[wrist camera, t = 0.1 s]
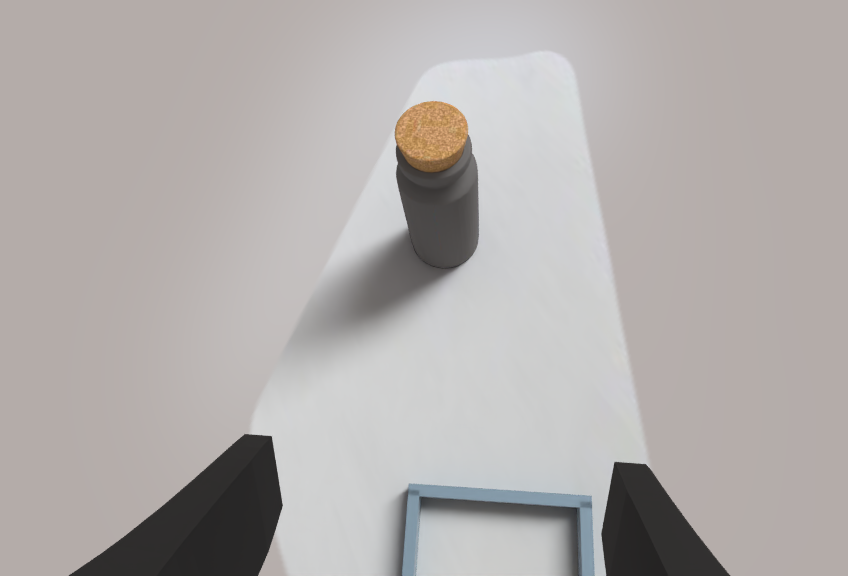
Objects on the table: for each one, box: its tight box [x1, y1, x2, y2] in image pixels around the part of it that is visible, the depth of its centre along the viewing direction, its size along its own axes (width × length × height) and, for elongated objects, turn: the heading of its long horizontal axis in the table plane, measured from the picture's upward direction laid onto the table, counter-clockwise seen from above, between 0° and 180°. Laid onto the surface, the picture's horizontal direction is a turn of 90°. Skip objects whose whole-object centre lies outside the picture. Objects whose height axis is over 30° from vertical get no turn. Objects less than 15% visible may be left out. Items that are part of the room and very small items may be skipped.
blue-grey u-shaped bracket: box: [402, 484, 595, 576], centre depth 40 cm, size 8×13×2 cm, turn 86°
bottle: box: [395, 101, 479, 268], centre depth 43 cm, size 6×6×15 cm
